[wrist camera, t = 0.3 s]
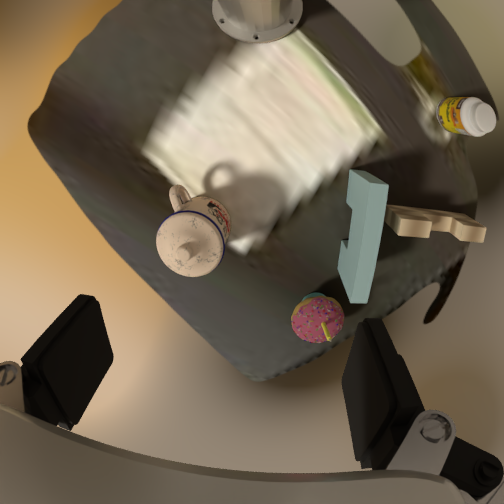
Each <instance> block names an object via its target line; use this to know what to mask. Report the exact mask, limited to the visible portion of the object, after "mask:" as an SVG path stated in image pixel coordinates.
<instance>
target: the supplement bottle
mask: <svg viewBox="0 0 504 504" xmlns="http://www.w3.org/2000/svg"><path fill="white" fill-rule="evenodd" d="M437 118H438V121H439V123H440V125H441V126H442V127H443V128H444V129H445V130H447V131H449V132H454V133H460V134H465V135H471V136H478V137H479V136H483V135H484V134H486V133H487V132H491V131H492V130H493V129H494V127H495V125H496V116H495V113H494V110H493V109H492V107H491V106H490V105H488V104H486V103H484V102H483V101H481V100H480V99H478V98H475V97H455V98H445V99H443V100H441V101H440V102H439V104H438V106H437Z"/></svg>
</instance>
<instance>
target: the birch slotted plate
mask: <svg viewBox="0 0 504 504" xmlns="http://www.w3.org/2000/svg"><path fill="white" fill-rule="evenodd" d="M384 221H385V222H386V223H387V224H388V225H389V226H390V227H391V228H392V229H393V231H394V232H395V233H396V234H397V235H398V236H410V237H423V238H429V235H430V230H435V231H445V232H450V233H451V234H453V235H454V236H455V237H456V238H458V239H459V240H460V241H471V242H482V243H483V241H484V236H485V232H486V227H484V226H483V225H481V224H480V223H478V222H476V221H475V220H473V219H472V218H470V217H469V216H467V215H465V214H462V213H455V212H447V211H439V210H431V209H423V208H414V207H405V206H396V205H386V209H385V216H384Z"/></svg>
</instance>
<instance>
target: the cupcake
mask: <svg viewBox="0 0 504 504" xmlns="http://www.w3.org/2000/svg"><path fill="white" fill-rule="evenodd" d="M343 321H344V313H343V310H342V307H341V305H340V304H339V303H338V302H337V301H336V300H335V299H334V298H331V297H326V296H325V295H323V294H321V293H311V294H308V295H307V296H305V297H304V298H303V300H302V302H300V303H299V304H298V305H297V306H296V308H295V310H294V312H293V314H292V316H291V322H292V327H293V330H294V332H295V333H296V334H297V335H298V336H299V337H300V338H302V340H304V341H308V342H309V343H312V342H315V343H317V342H318V343H321V342H325V341H330V342H331V338H334V336H336V335H337V333H338V332H339V331H340V330H342V329H341V328H342V326H343Z"/></svg>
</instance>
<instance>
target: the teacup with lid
mask: <svg viewBox="0 0 504 504" xmlns="http://www.w3.org/2000/svg"><path fill="white" fill-rule="evenodd" d="M179 195H180V197H181V198H182V201H183V203H184V204H183V205H182V203H181V201H180V198H179ZM170 200H171V203H172V206H173V208H174V210H175V213H173V214H171V215H170V216H168V217H167V218H166V219H165V220H164V221H163V222H162V224H161V225H160V227H159V229H158V232H157V240H156V243H157V249H158V253H159V255H160V257H161V259H162V260H163V262H164V263H165V264H166V265H167V266H168V267H169V268H170V269H171V270H173V271H174V272H176V273H178V274H181V275H184V276H189V277H197V276H202V275H205V274H207V273H209V272H211V271H213V270H214V269H215V268H216V267H217V266H218V265H219V264H220V262H221V260H222V258H223V255H224V251H225V245H226V242H227V240H228V237H229V234H230V231H231V220H230V216H229V214H228V212H227V210H226V209H225V207H224V206H223V205H222V204H221V203H219V202H218V201H216V200H214V199H212V198H209V197H195V198H192V199H191V197H190V195H189V193H188V192H187V190H186V189H185V188H184V187H183V186H182V185H175V186H173V187H171V189H170Z"/></svg>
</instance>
